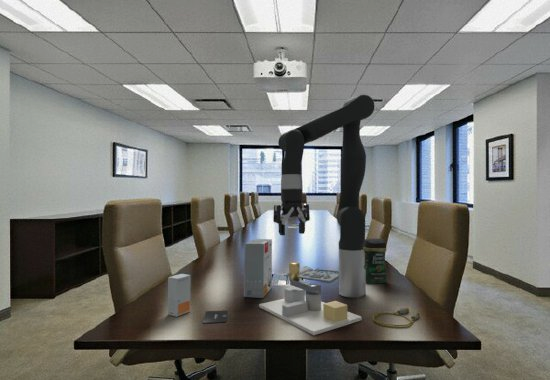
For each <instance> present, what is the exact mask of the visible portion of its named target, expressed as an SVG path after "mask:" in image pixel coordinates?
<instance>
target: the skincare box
mask: <svg viewBox="0 0 550 380" xmlns="http://www.w3.org/2000/svg"><path fill="white" fill-rule="evenodd" d="M191 280H192V277H191V274H186V273H179V274H175V275H173V276H169V277H167V315H169V316H173V317H179V316H181V315H185V314H186V313H190V312H191Z"/></svg>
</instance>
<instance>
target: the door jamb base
mask: <svg viewBox="0 0 550 380" xmlns="http://www.w3.org/2000/svg"><path fill="white" fill-rule="evenodd" d="M258 307H259V308H260V309H262V310H264V311H266V312H268V313H270V314H272V315H273V316H276V317H278V318H279V319H282V320H283V321H285V322H287V323H289V324H291V325H293V326H295V327H296V328H299V329H301V330H302V331H304V332H306V333H308V334H310V335H312V336H316V335H318V334H322V333H326V332H328V331H332V330H334V329H335V330H336V329H338V328H341V327H345V326H348V325H350V324H353V323H357V322H360V321H362V318H363V317H362V316H361V315H359V314H355V313H353V312H350V311H348V304H346V303H342V302H339V301H338V300H333V301H329V302H324V301H322V292H321V293H318V294H310V293H307V292H306V290H303V289H300V288H298V287H295V286H291V287H286V288H284V298H282V299H281V298H280V299H277V300H276V299H275V300H272V301H267V302H263V303H259V304H258Z"/></svg>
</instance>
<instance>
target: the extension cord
mask: <svg viewBox="0 0 550 380" xmlns="http://www.w3.org/2000/svg"><path fill="white" fill-rule="evenodd" d="M407 313H410V309H409V307H401V308H400V309H398V310H396V311H395V312H378V313H376V314H374V315H373V316H372V321H373V322H375V323H376V324H377V325H379V326H382V327H385V328H386V327H387V328H393V329H394V328H395V329H397V328H399V329H401V328H403V329H405V328H406V329H407V328H410V327H412V325H413V321H416V320H417V319H418V318H419V316H420V315H421V314H420V313H419V312H417V311H414V312H412V314H411V315H410V316H411V317H410V318H411V319H410V318H408V317H406V316H404V315H405V314H407ZM381 315H395V316H398V317H402V318H404V319H406V320H408V321H409V323H407V324H393V323H386V322H385V323H384V322H380V321H377V320H376V319H375V318H376V317H379V316H381Z"/></svg>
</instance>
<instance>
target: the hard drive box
mask: <svg viewBox="0 0 550 380" xmlns="http://www.w3.org/2000/svg"><path fill="white" fill-rule="evenodd" d="M243 246H244V252H243V253H244V255H243V257H244V259H243V261H244V262H243V263H244V265H243V297H244V298H256V299H257V298H258V299H263V298H264V297H265V296H266V295H267V294H268V293H269V291H271V289H272V287H273V282H272V281H273V261H272V260H273V239H267V238H254V239H252V240H250V241H248V242H245V243H244V245H243Z"/></svg>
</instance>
